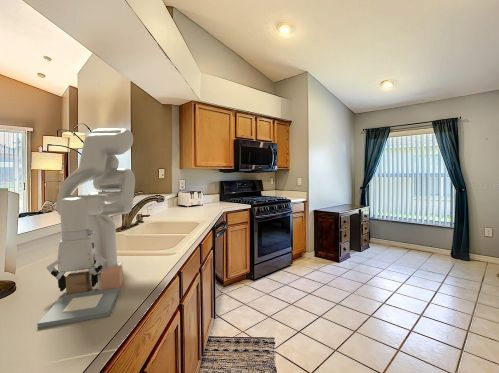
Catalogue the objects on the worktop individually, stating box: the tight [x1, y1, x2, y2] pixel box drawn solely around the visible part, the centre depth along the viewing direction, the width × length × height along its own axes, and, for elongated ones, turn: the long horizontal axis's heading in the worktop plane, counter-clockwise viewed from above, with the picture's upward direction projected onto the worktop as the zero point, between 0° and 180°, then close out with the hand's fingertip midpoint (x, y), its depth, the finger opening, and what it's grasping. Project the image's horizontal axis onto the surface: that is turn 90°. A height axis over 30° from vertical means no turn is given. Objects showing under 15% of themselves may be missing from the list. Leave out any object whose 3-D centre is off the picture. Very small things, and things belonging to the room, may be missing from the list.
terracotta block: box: [100, 265, 124, 290], centre depth 89 cm, size 6×6×6 cm
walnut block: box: [65, 270, 92, 295], centre depth 86 cm, size 6×6×6 cm
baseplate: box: [36, 287, 121, 329], centre depth 75 cm, size 16×16×1 cm
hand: (78, 287), depth 86 cm, fingers open, 8 cm apart
